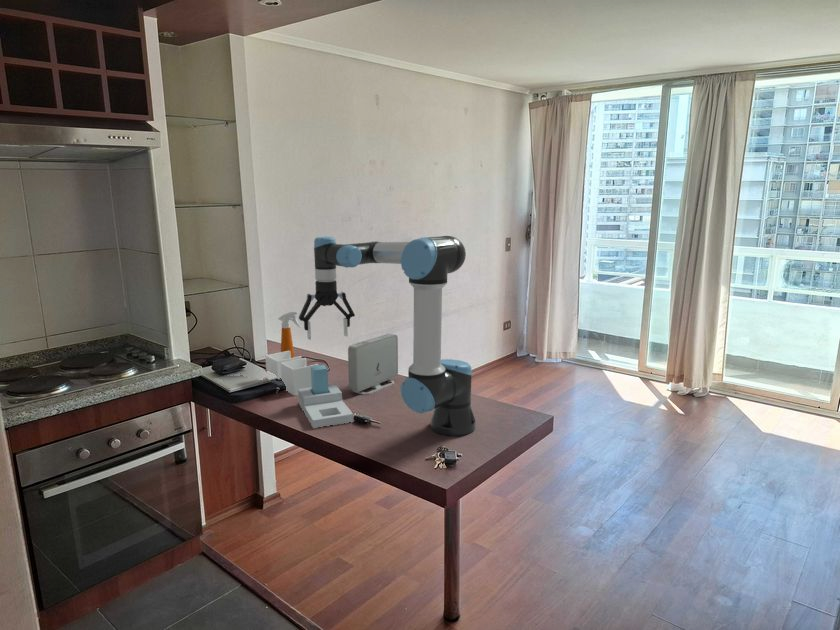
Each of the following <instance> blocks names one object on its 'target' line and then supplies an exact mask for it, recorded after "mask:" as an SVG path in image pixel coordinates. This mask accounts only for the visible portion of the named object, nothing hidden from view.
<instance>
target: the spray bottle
mask: <svg viewBox="0 0 840 630" xmlns="http://www.w3.org/2000/svg"><path fill="white" fill-rule="evenodd" d="M298 314H299V312H298V310H293V311H289V312H286V313H285V314H282V315H281V316H279V317H278V320H279V321H281V322H282V323H281V334H280V335H281V337H280V352H285V351H291V358H294V357H296V356H295V352H294V345H293V338H292V332H291V324H290V321H292V323H294V324H295V325H296V326H297V327H298V328H300V329H302V328H303V326H302V325H301V324H300V323H299V321H298V319H297V315H298Z"/></svg>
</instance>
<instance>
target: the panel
mask: <svg viewBox="0 0 840 630" xmlns="http://www.w3.org/2000/svg"><path fill="white" fill-rule="evenodd" d="M297 396H298V404H299V407H300V406H301V407H300V408H302V409H301V410H302V412H303V411H304V412H303V413H305V414H304V415H305V417H306V419H307V418H308V419H307V421H308V422H309V424H310V423H311V424H310V425H311V427H312V429H313V428H314V429H319V428H318V427H321V428H324V427H323V426H327V427H331V426H330V425H333V426H338V424H339V425H345V424H349V422H351V423H354V413H353V411H352V410H351V409H350V408H349V407H348V405H347V404H346V403H345V402H344V400H343V392H342V391H341V390H340V388H339V387H338V386H337V385H336V383H335V384H328V393H324V394H316V395H313V394H312V387H310V388H303V389H298V395H297ZM344 423H345V424H344Z"/></svg>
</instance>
